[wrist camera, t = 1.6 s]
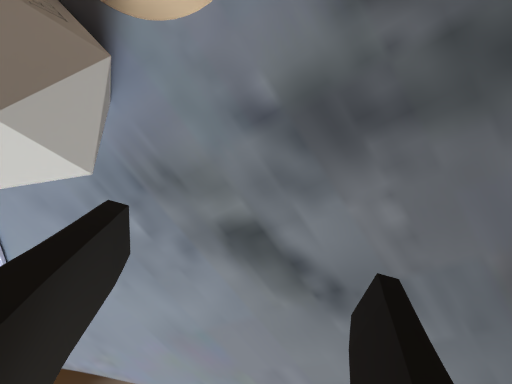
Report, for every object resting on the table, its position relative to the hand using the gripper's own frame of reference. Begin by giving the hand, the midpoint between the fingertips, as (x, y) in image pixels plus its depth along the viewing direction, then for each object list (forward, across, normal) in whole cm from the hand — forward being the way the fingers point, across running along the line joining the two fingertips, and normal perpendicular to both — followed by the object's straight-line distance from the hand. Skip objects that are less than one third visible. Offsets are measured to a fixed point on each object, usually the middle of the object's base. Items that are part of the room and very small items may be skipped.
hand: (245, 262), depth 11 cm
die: (+10, +12, 0) cm, 15 cm away
